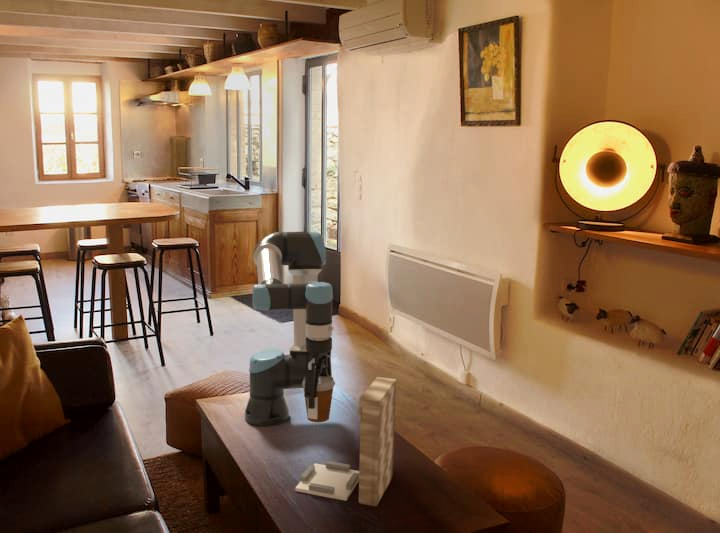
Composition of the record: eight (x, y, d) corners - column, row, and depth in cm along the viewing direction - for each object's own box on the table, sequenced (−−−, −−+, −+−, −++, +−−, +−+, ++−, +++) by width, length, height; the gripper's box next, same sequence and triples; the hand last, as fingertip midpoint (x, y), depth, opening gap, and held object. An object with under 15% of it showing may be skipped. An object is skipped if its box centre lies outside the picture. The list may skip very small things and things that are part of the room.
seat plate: (315, 466, 205) (315, 458, 204) (362, 474, 200) (363, 467, 200) (295, 491, 191) (295, 482, 190) (346, 500, 186) (346, 492, 186)
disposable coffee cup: (330, 426, 194) (330, 385, 192) (297, 422, 196) (297, 382, 194) (338, 413, 203) (338, 374, 201) (307, 410, 205) (307, 372, 203)
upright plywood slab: (374, 473, 201) (377, 376, 195) (392, 476, 200) (396, 379, 194) (356, 502, 186) (359, 398, 180) (376, 506, 184) (379, 401, 178)
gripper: (317, 348, 184) (316, 428, 188) (343, 329, 204) (342, 401, 208) (291, 345, 186) (291, 424, 190) (320, 326, 206) (319, 398, 210)
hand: (318, 412), depth 199 cm, fingers closed on disposable coffee cup, 8 cm apart
